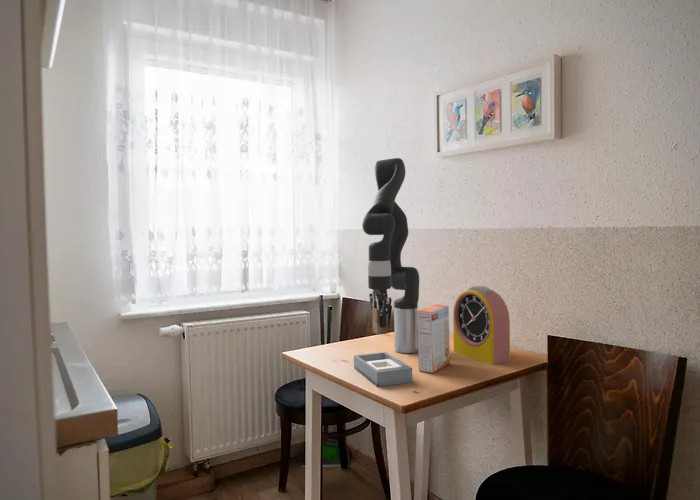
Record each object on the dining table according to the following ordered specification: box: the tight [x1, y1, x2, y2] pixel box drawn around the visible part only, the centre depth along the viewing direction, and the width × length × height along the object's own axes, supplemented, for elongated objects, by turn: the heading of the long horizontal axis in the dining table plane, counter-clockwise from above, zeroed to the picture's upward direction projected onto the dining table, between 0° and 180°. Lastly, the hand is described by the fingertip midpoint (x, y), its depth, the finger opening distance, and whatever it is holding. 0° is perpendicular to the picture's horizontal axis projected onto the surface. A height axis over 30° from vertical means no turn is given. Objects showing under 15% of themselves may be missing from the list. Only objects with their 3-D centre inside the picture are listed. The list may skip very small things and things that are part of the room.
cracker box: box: [417, 304, 451, 374], centre depth 163 cm, size 14×6×21 cm, turn 145°
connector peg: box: [371, 308, 389, 335], centre depth 155 cm, size 4×4×8 cm
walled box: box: [353, 351, 413, 388], centre depth 156 cm, size 12×21×4 cm, turn 19°
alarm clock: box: [452, 285, 511, 365], centre depth 176 cm, size 21×9×26 cm, turn 27°
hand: (380, 325), depth 155 cm, fingers closed on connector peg, 4 cm apart
